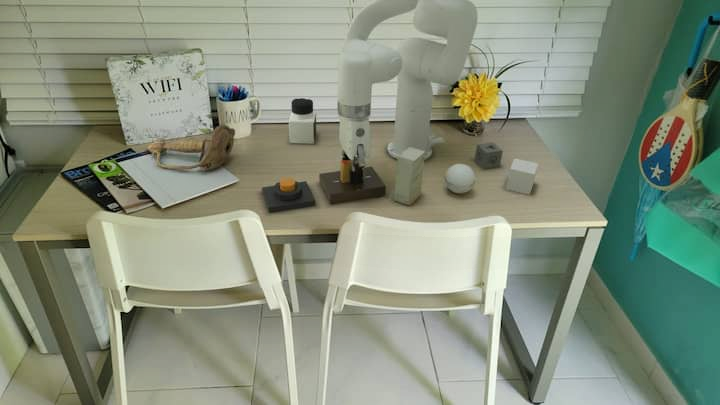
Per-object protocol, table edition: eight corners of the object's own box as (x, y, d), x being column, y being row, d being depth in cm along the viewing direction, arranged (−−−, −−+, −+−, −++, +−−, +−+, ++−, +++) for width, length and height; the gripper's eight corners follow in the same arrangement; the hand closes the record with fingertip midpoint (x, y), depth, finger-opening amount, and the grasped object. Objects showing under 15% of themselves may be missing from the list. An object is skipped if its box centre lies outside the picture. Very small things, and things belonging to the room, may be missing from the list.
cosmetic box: (409, 206, 122) (414, 161, 115) (393, 200, 124) (396, 156, 117) (421, 194, 126) (426, 151, 120) (405, 189, 128) (409, 145, 122)
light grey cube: (529, 195, 128) (534, 174, 125) (505, 189, 130) (510, 168, 127) (533, 183, 133) (538, 163, 129) (510, 178, 135) (514, 158, 131)
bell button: (293, 183, 123) (293, 177, 122) (296, 191, 120) (296, 184, 119) (278, 185, 122) (278, 179, 121) (281, 193, 119) (281, 187, 118)
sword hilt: (211, 159, 125) (232, 115, 133) (120, 146, 128) (146, 104, 137) (221, 184, 133) (241, 141, 141) (136, 171, 137) (160, 130, 145)
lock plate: (371, 176, 133) (372, 165, 131) (385, 196, 125) (386, 185, 123) (319, 183, 129) (319, 173, 127) (330, 205, 121) (330, 193, 120)
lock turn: (361, 176, 127) (362, 157, 124) (364, 180, 125) (364, 161, 123) (340, 179, 125) (340, 160, 123) (342, 183, 124) (342, 164, 121)
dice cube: (499, 166, 140) (502, 150, 137) (483, 169, 138) (486, 152, 135) (490, 158, 143) (493, 142, 141) (474, 160, 142) (477, 144, 139)
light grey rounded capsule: (440, 183, 131) (444, 158, 127) (469, 183, 131) (473, 158, 127) (447, 204, 123) (451, 178, 119) (477, 205, 123) (482, 179, 119)
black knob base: (306, 186, 128) (306, 174, 126) (315, 206, 121) (315, 193, 119) (262, 193, 125) (261, 180, 123) (268, 213, 118) (267, 200, 116)
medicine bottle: (314, 144, 147) (313, 105, 141) (289, 143, 147) (287, 104, 140) (316, 133, 153) (315, 95, 146) (292, 132, 153) (291, 94, 146)
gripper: (383, 121, 109) (378, 193, 119) (357, 92, 123) (355, 159, 133) (349, 125, 107) (348, 197, 117) (327, 95, 121) (328, 162, 131)
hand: (352, 176), depth 125 cm, fingers open, 5 cm apart
